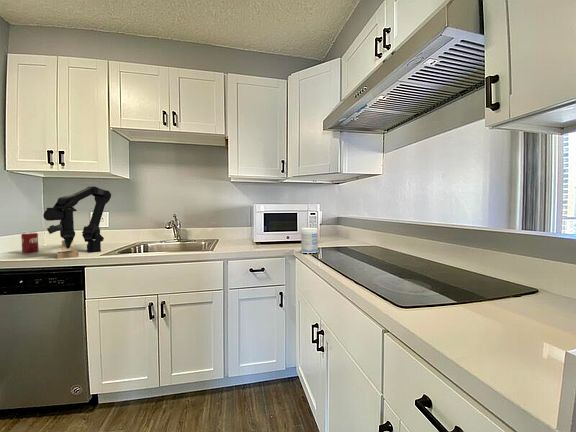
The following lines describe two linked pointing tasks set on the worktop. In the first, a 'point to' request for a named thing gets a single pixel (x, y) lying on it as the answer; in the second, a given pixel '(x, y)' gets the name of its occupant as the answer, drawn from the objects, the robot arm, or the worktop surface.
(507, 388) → the worktop surface
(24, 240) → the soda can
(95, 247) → the robot arm
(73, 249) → the oak cube
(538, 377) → the worktop surface
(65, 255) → the walnut block
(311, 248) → the supplement tub
